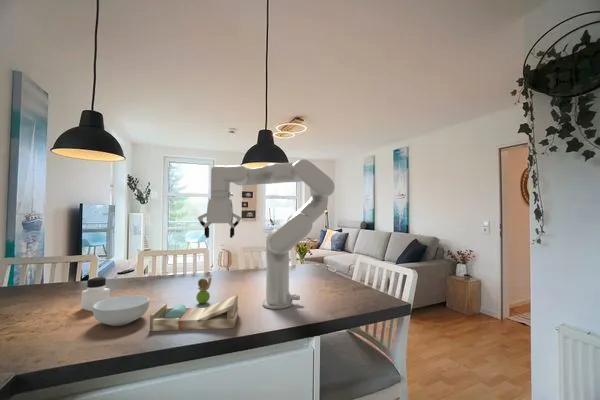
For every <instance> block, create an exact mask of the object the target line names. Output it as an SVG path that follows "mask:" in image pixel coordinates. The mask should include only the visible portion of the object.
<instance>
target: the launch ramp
mask: <svg viewBox="0 0 600 400" xmlns="http://www.w3.org/2000/svg"><path fill="white" fill-rule="evenodd" d="M238 299H239V295H238V294H236V295H234V296H231V297H229V298H226V299H224V300H221V301H219V302H216V303H214V304H212V305H209V306H207V307H189V306H186V308H187V311H186V312H185V314H184V315H183V316H182V317H181V318H165V316H166V314H167V313H168V312H170V311H171V310H172V309H173V308H174V307H175V306H172V307H170V306H169V307H167V306H168V305H167V304H168V303H163V304H161V306H159V307H158V308H157V309H156V310H155V311H153V312H152V313H151V314H150V315H149V331H151V332H153V331H155V332H156V331H158V332H159V331H183V330H184V331H185V330H187V331H188V330H190V331H191V330H211V329H214V330H215V329H217V330H218V329H235V326H236V323H237V319H238V317H239V306H238V301H239V300H238Z"/></svg>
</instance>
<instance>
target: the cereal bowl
mask: <svg viewBox="0 0 600 400" xmlns="http://www.w3.org/2000/svg"><path fill="white" fill-rule="evenodd" d="M150 301H151V299H150V298H149V297H148V296H146V295H140V294H138V295H137V294H129V295H127V294H125V295H120V296H119V295H118V296H114V297H110V298H108V299H105V300H102V301H99V302H97V303H96V304H94V306H93V311H92V313H93V317H94V319H95V320H96V321H97V322H98V323H101V324H104V325H107V326H112V327H116V326H117V327H121V326H125V325H129V324H131V323H133V322H135V321H136V320H138V319H139V318H141V317H143V316H144V315H145V314H146V313H147V311H148V310H149V306H150V303H151V302H150Z"/></svg>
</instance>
